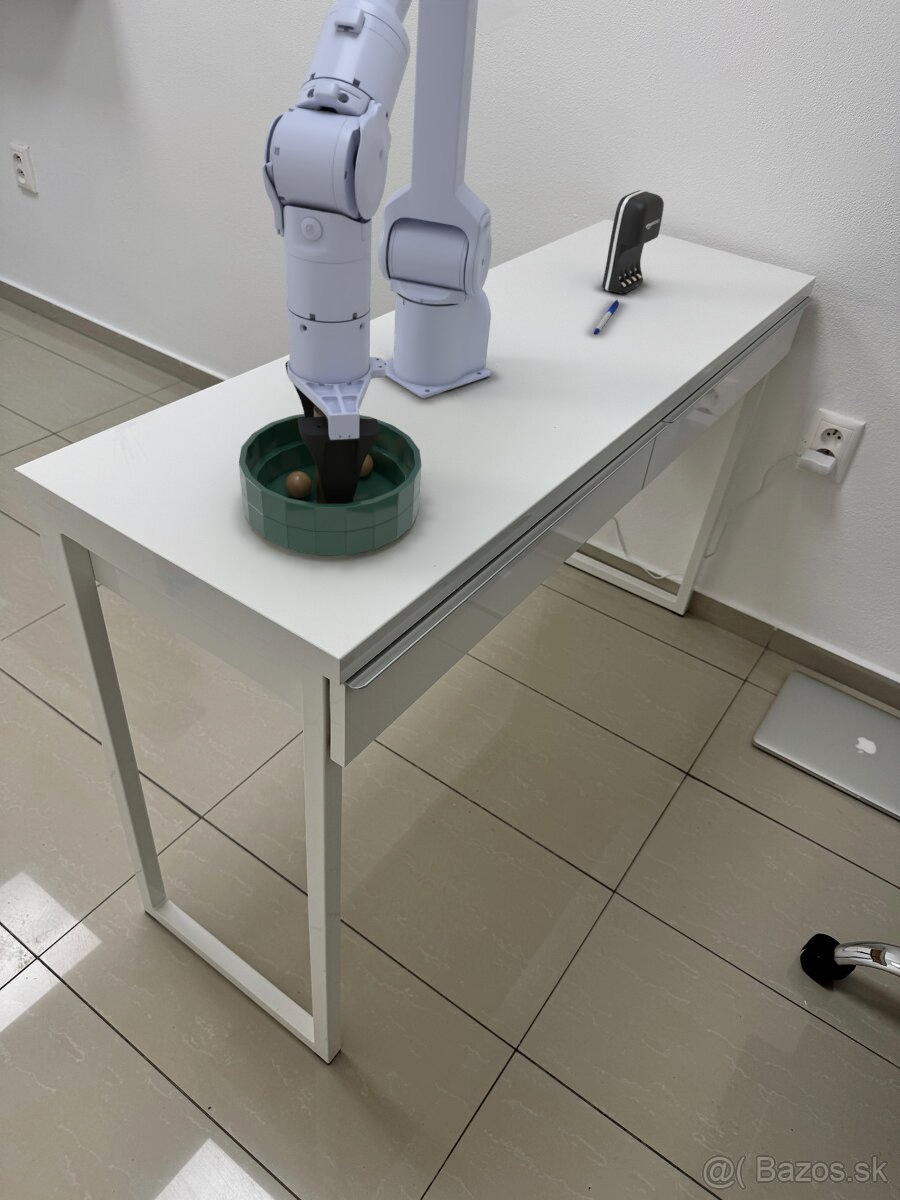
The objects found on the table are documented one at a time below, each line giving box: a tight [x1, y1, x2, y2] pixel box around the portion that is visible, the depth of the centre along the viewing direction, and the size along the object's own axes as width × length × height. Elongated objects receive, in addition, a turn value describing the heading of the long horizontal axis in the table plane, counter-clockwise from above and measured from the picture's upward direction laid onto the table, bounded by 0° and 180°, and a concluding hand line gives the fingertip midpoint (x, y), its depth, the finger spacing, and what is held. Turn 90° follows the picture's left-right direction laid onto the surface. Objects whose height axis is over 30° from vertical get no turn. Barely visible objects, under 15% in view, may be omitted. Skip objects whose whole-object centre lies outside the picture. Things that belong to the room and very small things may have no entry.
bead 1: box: [285, 471, 312, 498], centre depth 71 cm, size 2×2×2 cm
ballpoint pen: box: [593, 299, 620, 335], centre depth 105 cm, size 10×1×1 cm, turn 159°
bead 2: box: [360, 454, 373, 477], centre depth 74 cm, size 2×2×2 cm
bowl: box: [238, 413, 422, 557], centre depth 70 cm, size 14×14×5 cm
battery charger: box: [601, 189, 665, 294], centre depth 110 cm, size 7×4×11 cm, turn 143°
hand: (331, 472), depth 69 cm, fingers open, 7 cm apart
